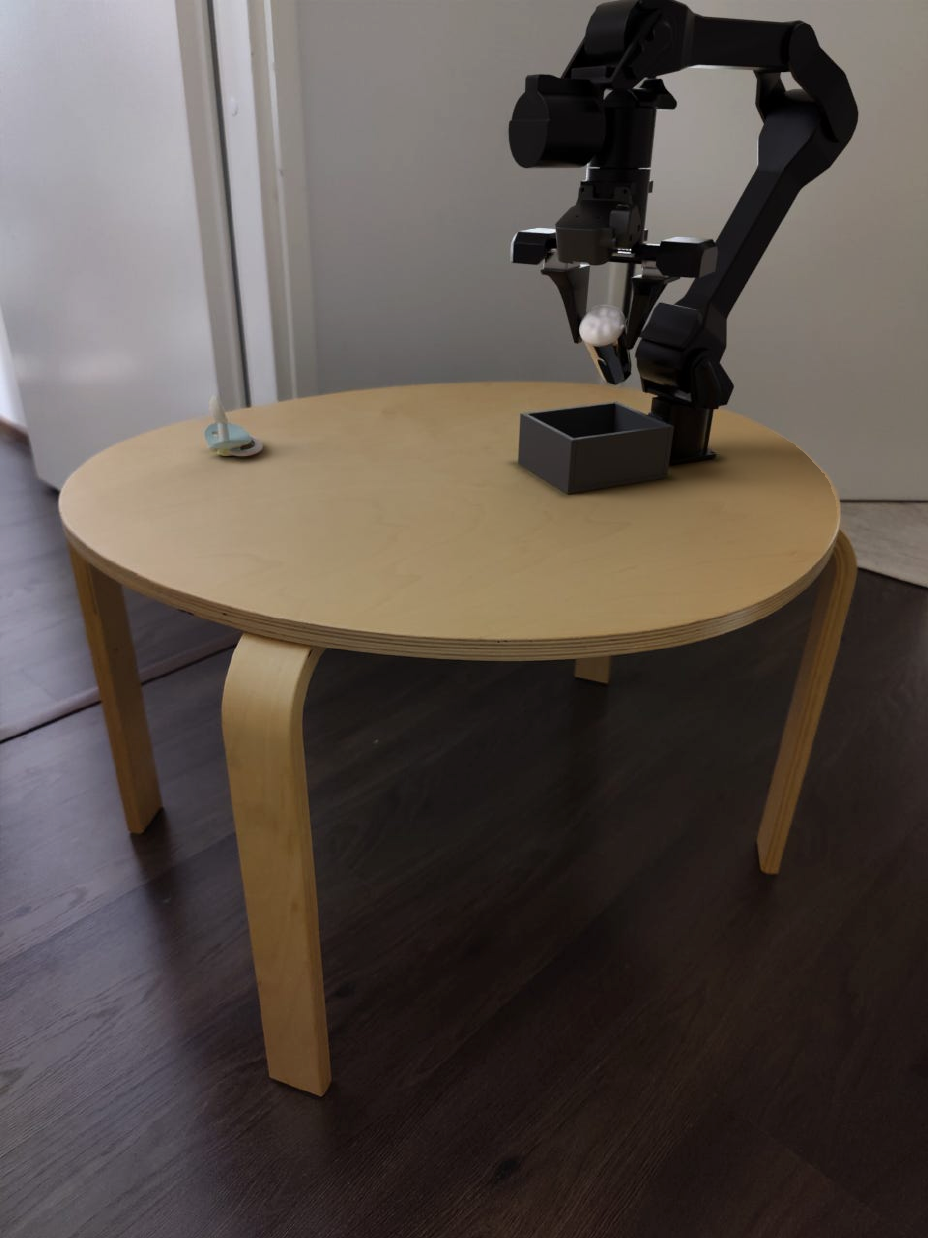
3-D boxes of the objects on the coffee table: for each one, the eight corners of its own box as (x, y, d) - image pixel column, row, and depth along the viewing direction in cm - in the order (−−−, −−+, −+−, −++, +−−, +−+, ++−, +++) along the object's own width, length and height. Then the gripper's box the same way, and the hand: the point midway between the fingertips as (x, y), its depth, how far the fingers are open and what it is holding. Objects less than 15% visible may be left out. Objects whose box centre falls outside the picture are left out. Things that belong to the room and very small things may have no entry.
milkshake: (636, 395, 90) (619, 337, 81) (589, 386, 92) (567, 329, 83) (652, 358, 90) (636, 296, 82) (604, 350, 93) (584, 289, 84)
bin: (611, 449, 98) (616, 401, 95) (667, 477, 90) (674, 426, 87) (517, 463, 93) (520, 412, 91) (567, 494, 85) (571, 440, 83)
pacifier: (258, 440, 99) (204, 443, 97) (254, 385, 96) (198, 387, 94) (267, 460, 93) (210, 463, 91) (263, 402, 90) (204, 404, 88)
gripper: (484, 167, 75) (481, 349, 83) (693, 173, 67) (668, 375, 75) (539, 164, 84) (532, 330, 92) (731, 170, 76) (705, 351, 83)
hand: (603, 346), depth 85 cm, fingers closed on milkshake, 5 cm apart
